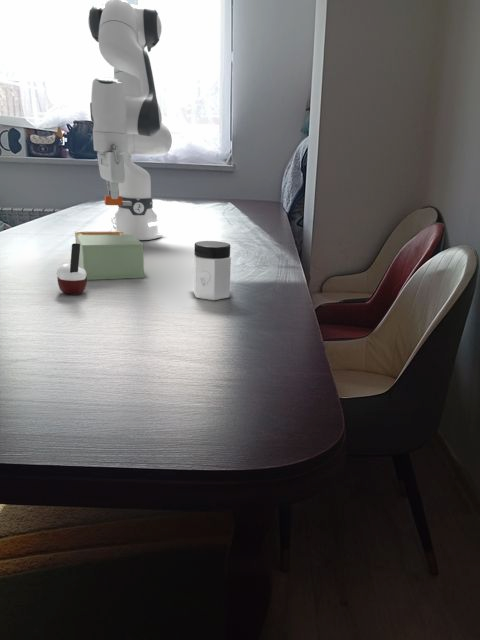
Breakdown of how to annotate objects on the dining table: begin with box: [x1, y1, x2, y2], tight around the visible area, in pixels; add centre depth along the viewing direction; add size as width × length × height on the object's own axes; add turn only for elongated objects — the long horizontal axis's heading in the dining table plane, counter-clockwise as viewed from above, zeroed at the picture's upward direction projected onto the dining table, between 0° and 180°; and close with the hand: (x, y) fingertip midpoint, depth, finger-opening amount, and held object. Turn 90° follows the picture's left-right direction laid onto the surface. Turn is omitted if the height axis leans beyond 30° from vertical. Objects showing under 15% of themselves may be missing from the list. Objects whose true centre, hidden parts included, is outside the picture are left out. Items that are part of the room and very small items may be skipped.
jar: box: [193, 240, 232, 301], centre depth 118 cm, size 9×8×12 cm
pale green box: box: [76, 235, 145, 281], centre depth 134 cm, size 15×15×9 cm
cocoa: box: [56, 243, 88, 296], centre depth 113 cm, size 10×6×12 cm, turn 12°
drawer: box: [74, 230, 124, 244], centre depth 146 cm, size 18×13×7 cm
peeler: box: [103, 194, 132, 206], centre depth 143 cm, size 7×3×2 cm, turn 114°
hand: (113, 198), depth 143 cm, fingers closed on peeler, 2 cm apart
